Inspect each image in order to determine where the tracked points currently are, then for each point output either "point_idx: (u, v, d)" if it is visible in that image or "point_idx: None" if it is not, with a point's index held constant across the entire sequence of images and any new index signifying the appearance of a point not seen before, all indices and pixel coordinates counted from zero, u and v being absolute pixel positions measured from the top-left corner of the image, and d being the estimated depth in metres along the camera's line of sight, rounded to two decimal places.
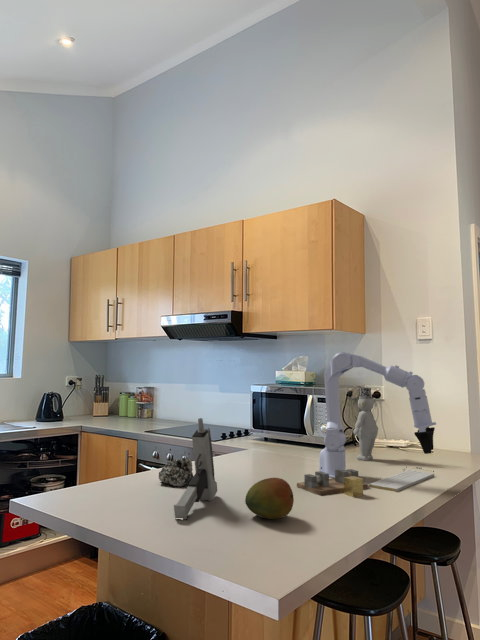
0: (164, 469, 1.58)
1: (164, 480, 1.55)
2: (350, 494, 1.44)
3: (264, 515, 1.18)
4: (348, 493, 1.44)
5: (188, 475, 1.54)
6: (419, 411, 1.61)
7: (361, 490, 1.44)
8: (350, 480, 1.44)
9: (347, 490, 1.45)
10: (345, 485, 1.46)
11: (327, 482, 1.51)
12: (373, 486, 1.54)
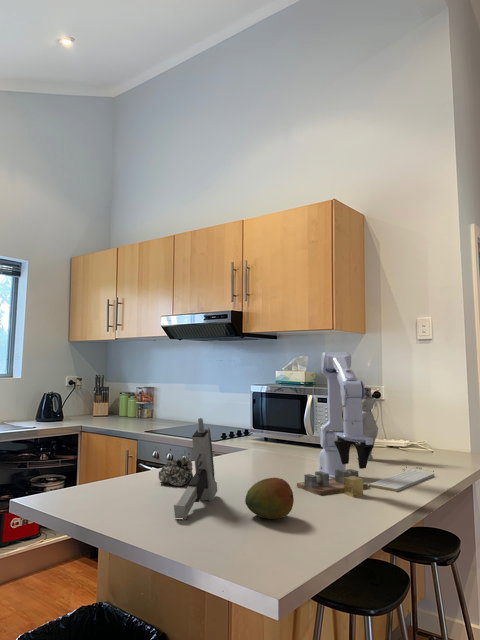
0: (164, 468, 1.59)
1: (164, 480, 1.56)
2: (350, 494, 1.44)
3: (264, 515, 1.18)
4: (348, 493, 1.44)
5: (188, 474, 1.55)
6: None
7: (361, 490, 1.44)
8: (350, 480, 1.44)
9: (347, 490, 1.45)
10: (345, 485, 1.46)
11: (327, 482, 1.51)
12: (373, 486, 1.54)
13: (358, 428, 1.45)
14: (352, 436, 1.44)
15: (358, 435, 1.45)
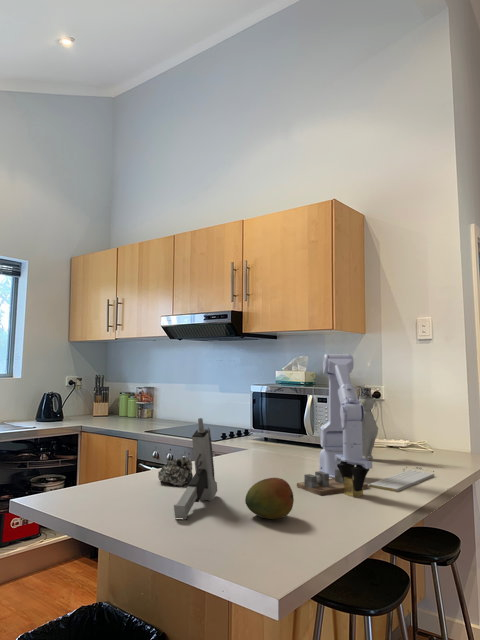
0: (164, 468, 1.59)
1: (164, 479, 1.56)
2: (350, 494, 1.44)
3: (264, 515, 1.18)
4: (348, 493, 1.44)
5: (188, 474, 1.56)
6: None
7: None
8: (350, 480, 1.44)
9: (347, 489, 1.45)
10: (345, 485, 1.46)
11: (327, 482, 1.51)
12: (373, 486, 1.54)
13: (358, 451, 1.44)
14: (351, 459, 1.43)
15: (358, 458, 1.44)
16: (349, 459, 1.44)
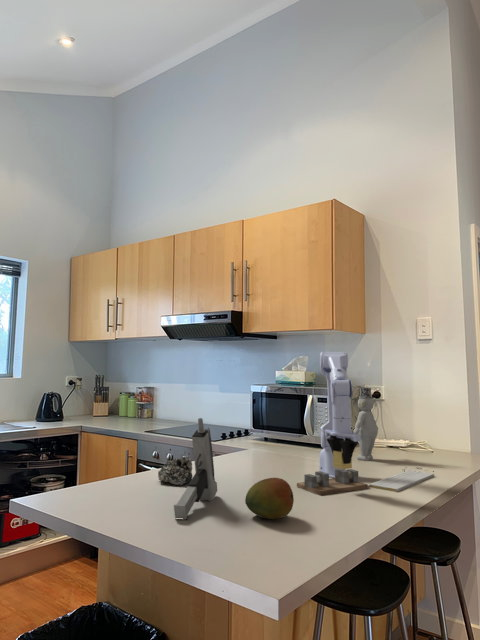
0: (164, 468, 1.60)
1: (164, 479, 1.57)
2: (339, 466, 1.49)
3: (264, 515, 1.18)
4: (337, 465, 1.49)
5: (188, 474, 1.56)
6: None
7: None
8: (339, 453, 1.49)
9: (337, 462, 1.50)
10: (334, 458, 1.51)
11: (327, 482, 1.51)
12: (373, 486, 1.54)
13: (347, 425, 1.49)
14: (340, 433, 1.49)
15: (346, 432, 1.49)
16: (338, 433, 1.49)
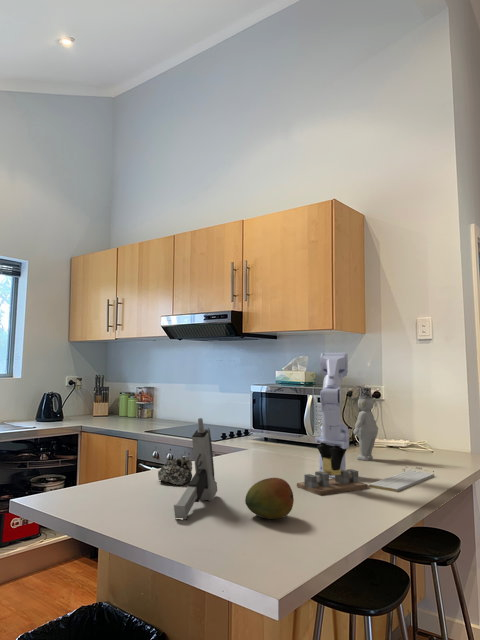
0: (164, 468, 1.60)
1: (164, 479, 1.57)
2: (328, 473, 1.53)
3: (264, 515, 1.18)
4: (327, 472, 1.54)
5: (189, 473, 1.57)
6: None
7: None
8: (328, 460, 1.53)
9: (326, 469, 1.54)
10: (324, 465, 1.55)
11: (327, 482, 1.51)
12: (373, 486, 1.54)
13: (336, 433, 1.53)
14: (330, 440, 1.53)
15: (335, 439, 1.53)
16: (327, 440, 1.53)
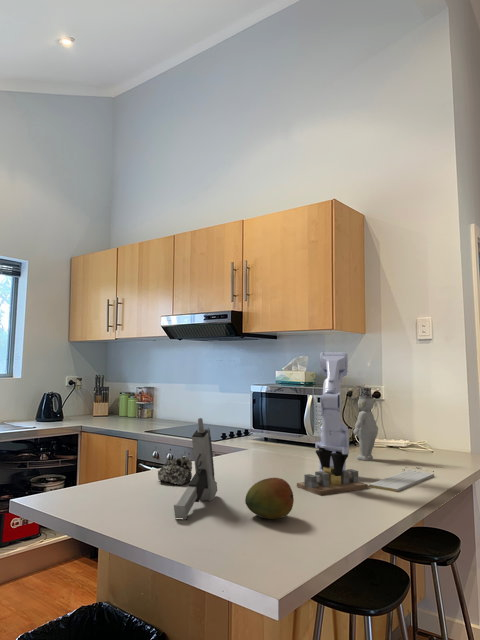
0: (164, 467, 1.60)
1: (164, 479, 1.57)
2: None
3: (264, 515, 1.18)
4: None
5: (189, 473, 1.57)
6: None
7: (339, 479, 1.53)
8: (329, 469, 1.53)
9: None
10: None
11: (327, 482, 1.51)
12: (373, 486, 1.54)
13: (336, 438, 1.53)
14: (330, 446, 1.52)
15: (336, 445, 1.53)
16: (328, 445, 1.53)
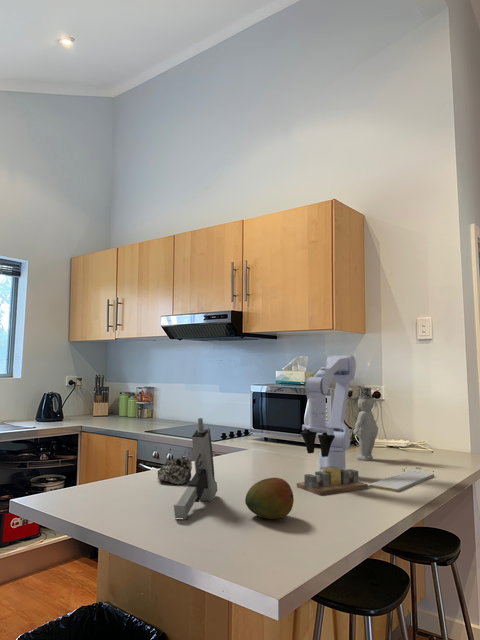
0: (164, 467, 1.60)
1: (164, 478, 1.58)
2: None
3: (264, 515, 1.18)
4: None
5: (188, 473, 1.58)
6: None
7: (339, 479, 1.53)
8: (329, 469, 1.53)
9: None
10: None
11: (327, 482, 1.51)
12: (374, 486, 1.54)
13: (322, 420, 1.58)
14: (315, 427, 1.58)
15: (321, 426, 1.58)
16: (313, 427, 1.58)
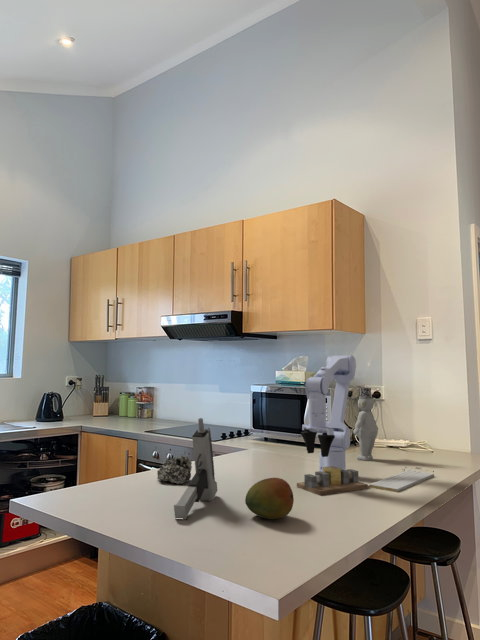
0: (163, 467, 1.61)
1: (164, 478, 1.58)
2: None
3: (264, 515, 1.18)
4: None
5: (188, 472, 1.58)
6: None
7: (339, 479, 1.53)
8: (329, 469, 1.53)
9: None
10: None
11: (327, 482, 1.51)
12: (374, 486, 1.54)
13: (321, 420, 1.58)
14: (315, 427, 1.58)
15: (321, 426, 1.58)
16: (313, 427, 1.58)
